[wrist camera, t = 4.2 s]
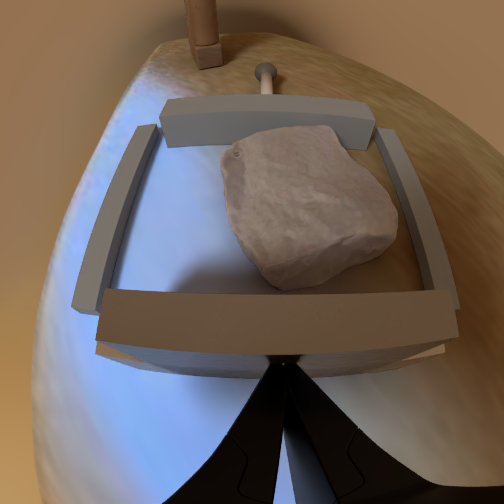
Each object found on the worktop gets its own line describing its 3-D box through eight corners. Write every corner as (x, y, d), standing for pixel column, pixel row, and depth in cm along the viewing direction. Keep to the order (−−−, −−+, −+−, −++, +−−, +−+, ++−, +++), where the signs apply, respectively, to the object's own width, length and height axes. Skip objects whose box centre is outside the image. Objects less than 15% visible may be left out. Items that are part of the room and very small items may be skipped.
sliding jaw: (397, 368, 14) (505, 325, 6) (139, 369, 14) (34, 327, 6) (392, 321, 15) (484, 246, 7) (145, 320, 16) (58, 242, 8)
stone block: (270, 315, 18) (399, 252, 18) (254, 290, 14) (418, 213, 13) (218, 189, 24) (321, 147, 24) (198, 149, 20) (318, 104, 19)
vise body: (450, 314, 15) (481, 295, 12) (80, 313, 16) (50, 293, 13) (362, 89, 29) (367, 67, 26) (166, 87, 30) (161, 64, 27)
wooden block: (211, 47, 38) (203, -42, 22) (224, 66, 33) (216, -47, 17) (190, 51, 37) (179, -39, 22) (198, 71, 32) (184, -43, 16)
